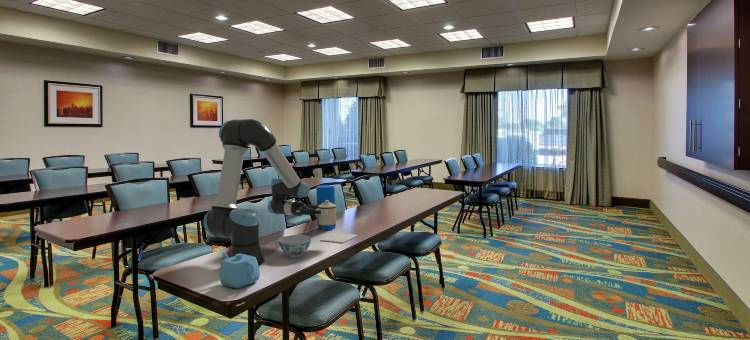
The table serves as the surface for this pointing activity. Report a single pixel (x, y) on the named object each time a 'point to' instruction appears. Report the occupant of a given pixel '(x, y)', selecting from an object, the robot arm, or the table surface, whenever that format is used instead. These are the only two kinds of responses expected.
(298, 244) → the chinaware
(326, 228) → the blue tall box
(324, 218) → the teacup with lid
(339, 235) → the mat
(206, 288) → the table surface
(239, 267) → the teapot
